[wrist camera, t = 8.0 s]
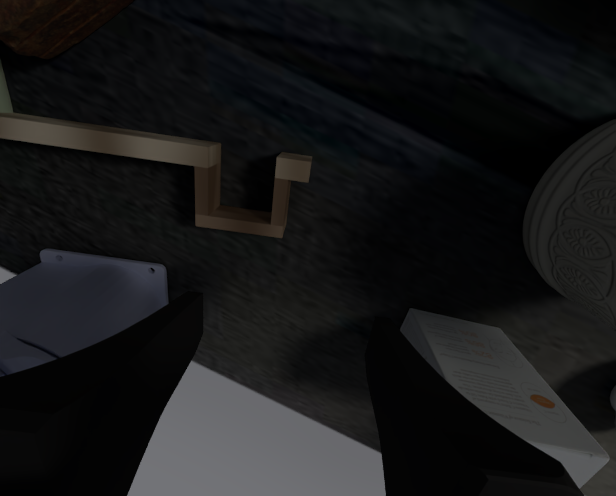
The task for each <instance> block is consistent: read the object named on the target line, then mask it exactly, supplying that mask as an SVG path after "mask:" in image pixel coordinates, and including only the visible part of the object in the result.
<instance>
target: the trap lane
mask: <svg viewBox="0 0 616 496" xmlns="http://www.w3.org/2000/svg"><path fill="white" fill-rule="evenodd" d="M0 138H3V139H10V140H17V141H24V142H31V143H38V144H45V145H52V146H59V147H66V148H72V149H79V150H86V151H93V152H100V153H107V154H114V155H121V156H128V157H135V158H142V159H149V160H155V161H162V162H169V163H176V164H183V165H190V166H195V222H196V226H199V227H206V228H213V229H221V230H228V231H235V232H242V233H249V234H256V235H263V236H270V237H278V238H282V236H283V233H284V230H285V226H286V220H287V211H288V202H289V193H290V184H291V180H294V181H301V182H308V181H309V175H310V168H311V161H312V156H305V155H299V154H292V153H285V152H281V153H280V154H279V155H278V156H277V160H276V171H275V182H274V194H273V205H272V212H265V211H258V210H251V209H244V208H237V207H230V206H223V205H220V173H221V143H217V142H210V141H203V140H196V139H189V138H182V137H176V136H169V135H162V134H155V133H148V132H141V131H135V130H128V129H121V128H114V127H107V126H100V125H94V124H87V123H80V122H73V121H66V120H59V119H53V118H46V117H39V116H32V115H25V114H18V113H13V109H12V105H11V101H10V96H9V92H8V88H7V84H6V80H5V76H4V72H3V68H2V63H1V59H0Z"/></svg>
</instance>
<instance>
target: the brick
mask: <svg viewBox="0 0 616 496" xmlns="http://www.w3.org/2000/svg"><path fill="white" fill-rule="evenodd" d="M133 1H134V0H0V40H2V41H3V43H4V44H5V45H6V46H8V47H9V48H11V49H12V50H13V51H14V52H15V53H17V54H20V55H24V56H37V57H39V58H43V59H52V58H54V57H55V56H57V55H59V54H60V53H62V52H64V51H66V50H67V49H68V48H70V47H71V46H73V45H74V44H76V43H79V42H80V41H82V40H83V39H85V38H86V37H87V36H89V35H90V34H91V33H92V32H94V31H95V30H97V29H98V28H99V27H101V26H102V25H104V24H105V23H106V22H108V21H109V20H110V19H112V18H113V17H114V16H116V15H117V14H118V13H120V12H121V10H122V9H123V8H125V7H127V6H128V5H129V4H130V3H132V2H133Z"/></svg>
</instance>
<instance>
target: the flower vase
mask: <svg viewBox="0 0 616 496" xmlns="http://www.w3.org/2000/svg"><path fill="white" fill-rule="evenodd" d="M610 404H611V406H612V407H613V409H614V410H615V411H616V385H615V386H614V388H613V389H612V391H611V394H610ZM614 422H615V428H616V412H615V416H614Z"/></svg>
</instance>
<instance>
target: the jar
mask: <svg viewBox="0 0 616 496" xmlns="http://www.w3.org/2000/svg"><path fill="white" fill-rule="evenodd" d="M522 235H523V243H524V248H525V251H526V254H527V256H528V258H529V260H530V262H531V264H532V265H533V266H534V268H535V269H536V270H537V271H538V273H539V274H540V276H541V277H542V278H543V279H544V280H545V282H546V283H548V284H549V285H550V286H551V287H552V288H554V289H555V290H556V291H558V292H559V293H560V294H561V295H563V296H564V297H566V298H567V299H569V300H571V301H573V302H575V303H578V304H580V305H581V306H583V307H584V308H585V309H587V310H588V311H589V312H591V313H592V314H593V315H595V316H596V317H597V318H599V319H600V320H602V321H603V322H604V323H606V324H607V325H608V326H610V327H611V328H612V329H614V330H615V331H616V119H613V120H611V121H609V122H607V123H605V124H603V125H601V126H599V127H597V128H595V129H594V130H592V131H590V132H589V133H587V134H586V135H584V136H583V137H581V138H580V139H579V140H577V141H576V142H575V143H573V144H572V145H571V146H570V147H569V148H567V149H566V150H565V151H564V152H563V153H562V154H561V155H560V156H559V157H558V158H557V159H556V160H555V161H554V162H553V163H552V165H551V166H550V167H549V168H548V169H547V171H546V172H545V173H544V175H543V176H542V178H541V179H540V181H539V182H538V184H537V186H536V187H535V189H534V191H533V193H532V195H531V197H530V200H529V202H528V205H527V208H526V211H525V215H524V220H523V234H522Z"/></svg>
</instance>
